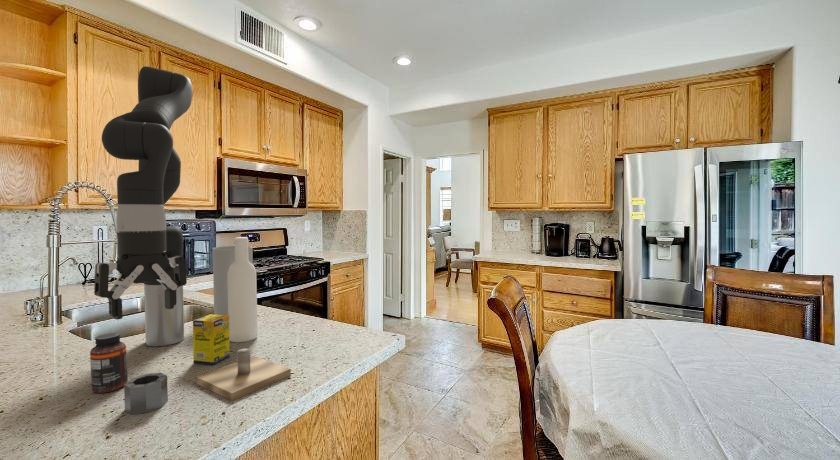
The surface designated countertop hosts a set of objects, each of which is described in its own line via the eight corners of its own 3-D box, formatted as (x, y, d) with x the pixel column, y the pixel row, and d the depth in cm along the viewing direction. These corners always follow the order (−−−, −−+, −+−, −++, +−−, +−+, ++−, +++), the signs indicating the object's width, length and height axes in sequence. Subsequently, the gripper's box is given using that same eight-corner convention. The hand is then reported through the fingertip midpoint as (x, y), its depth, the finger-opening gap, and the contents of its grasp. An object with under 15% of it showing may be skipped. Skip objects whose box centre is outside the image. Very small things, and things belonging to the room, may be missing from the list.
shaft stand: (195, 383, 82) (194, 353, 82) (254, 362, 94) (253, 336, 94) (231, 400, 75) (231, 368, 74) (290, 375, 86) (290, 347, 86)
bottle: (231, 344, 106) (229, 238, 105) (225, 337, 112) (223, 237, 111) (261, 338, 111) (259, 237, 110) (253, 332, 118) (252, 236, 116)
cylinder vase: (228, 324, 125) (226, 249, 124) (206, 319, 131) (205, 248, 130) (261, 316, 136) (259, 247, 135) (239, 311, 142) (238, 245, 141)
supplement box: (213, 365, 92) (212, 321, 91) (192, 363, 93) (191, 319, 93) (230, 356, 98) (229, 314, 97) (210, 354, 99) (209, 313, 98)
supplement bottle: (120, 379, 84) (118, 329, 84) (133, 385, 81) (131, 333, 81) (86, 390, 79) (84, 336, 79) (98, 397, 76) (96, 341, 76)
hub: (121, 407, 72) (120, 382, 72) (157, 394, 77) (156, 370, 77) (135, 417, 69) (134, 390, 68) (172, 402, 74) (171, 377, 74)
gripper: (173, 227, 79) (175, 303, 80) (86, 229, 67) (89, 319, 68) (191, 228, 75) (193, 308, 76) (102, 230, 63) (106, 325, 64)
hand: (144, 313), depth 72 cm, fingers open, 8 cm apart
